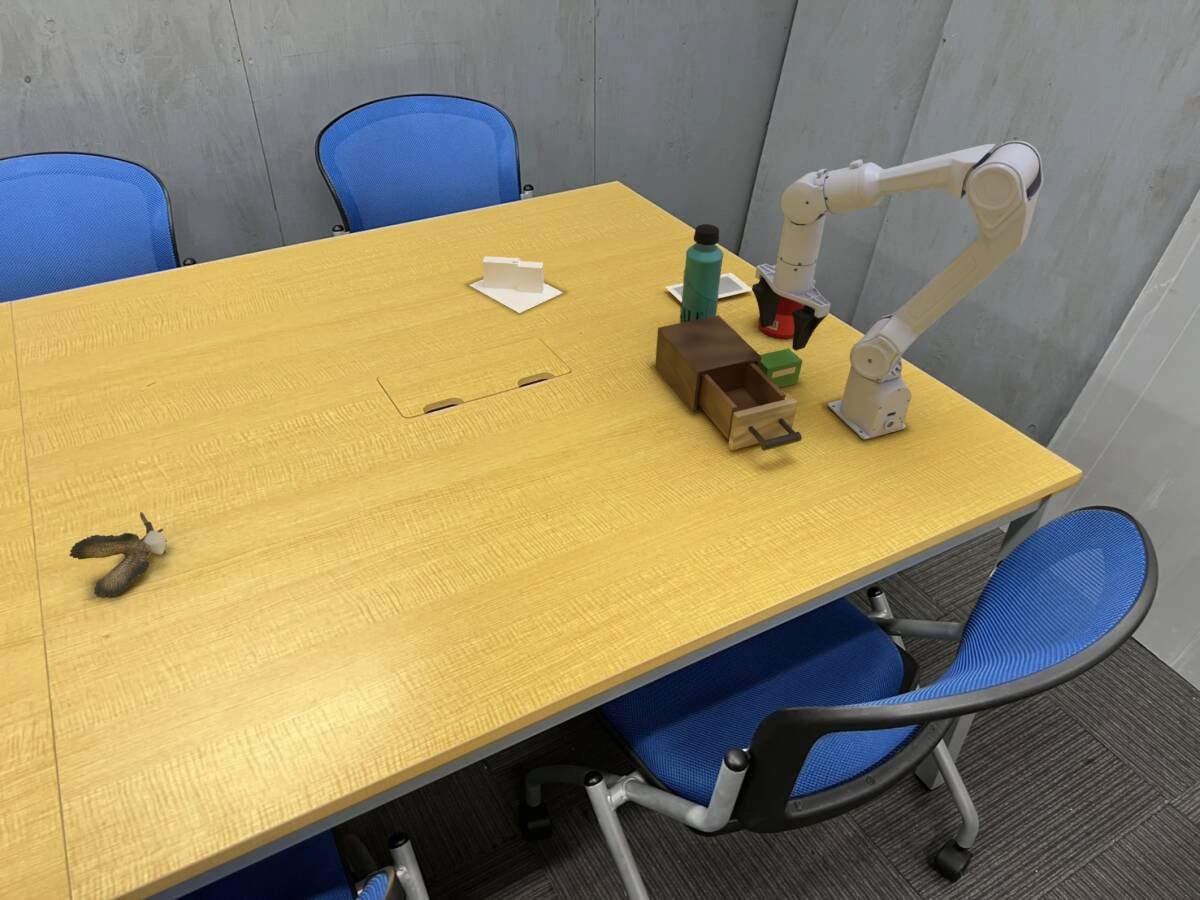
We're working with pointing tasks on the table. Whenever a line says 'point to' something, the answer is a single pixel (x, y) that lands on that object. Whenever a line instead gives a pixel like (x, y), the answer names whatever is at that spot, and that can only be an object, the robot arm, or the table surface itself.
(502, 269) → the napkin holder
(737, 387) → the drawer
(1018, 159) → the robot arm
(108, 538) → the eagle figurine
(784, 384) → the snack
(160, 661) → the table surface
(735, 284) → the touchpad
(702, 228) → the beverage bottle
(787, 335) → the canned food
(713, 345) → the cabinet
